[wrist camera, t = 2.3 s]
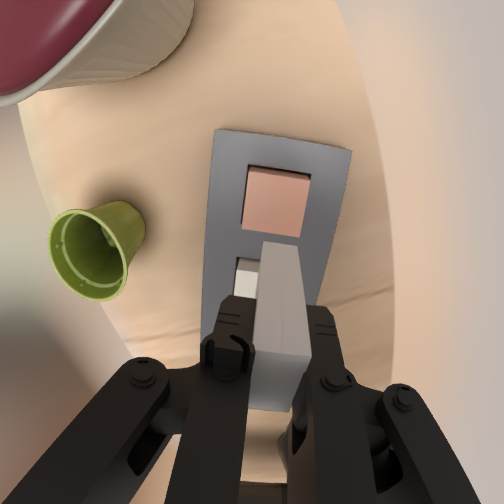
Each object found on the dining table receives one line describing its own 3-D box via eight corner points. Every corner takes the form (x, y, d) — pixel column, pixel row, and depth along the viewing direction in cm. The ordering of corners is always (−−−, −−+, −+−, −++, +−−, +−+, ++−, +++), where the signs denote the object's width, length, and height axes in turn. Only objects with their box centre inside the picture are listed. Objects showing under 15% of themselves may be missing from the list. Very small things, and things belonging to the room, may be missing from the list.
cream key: (280, 303, 31) (281, 319, 29) (235, 297, 31) (231, 312, 29) (289, 263, 29) (290, 277, 27) (240, 256, 29) (236, 269, 27)
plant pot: (150, 179, 29) (109, 202, 21) (167, 259, 33) (138, 302, 25) (83, 193, 30) (36, 217, 22) (103, 263, 34) (67, 301, 26)
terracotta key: (297, 226, 27) (299, 237, 25) (244, 218, 27) (241, 228, 25) (306, 174, 25) (310, 180, 23) (251, 166, 25) (248, 171, 23)
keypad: (289, 365, 38) (289, 381, 36) (204, 353, 39) (200, 368, 36) (344, 148, 26) (352, 151, 23) (220, 128, 26) (214, 129, 23)
